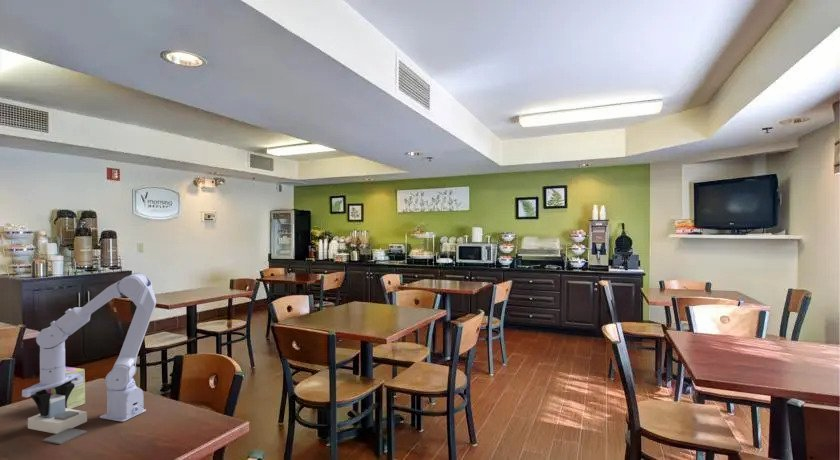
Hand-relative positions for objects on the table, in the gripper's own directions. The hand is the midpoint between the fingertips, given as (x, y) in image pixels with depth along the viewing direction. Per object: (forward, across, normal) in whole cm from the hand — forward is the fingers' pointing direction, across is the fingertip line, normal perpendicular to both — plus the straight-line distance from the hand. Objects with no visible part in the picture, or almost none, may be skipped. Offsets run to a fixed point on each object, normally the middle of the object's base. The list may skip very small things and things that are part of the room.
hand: (52, 412), depth 126 cm
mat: (+4, +4, +12) cm, 13 cm away
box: (+4, -10, -10) cm, 15 cm away
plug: (+4, 0, 0) cm, 4 cm away
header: (+4, 0, +2) cm, 4 cm away
